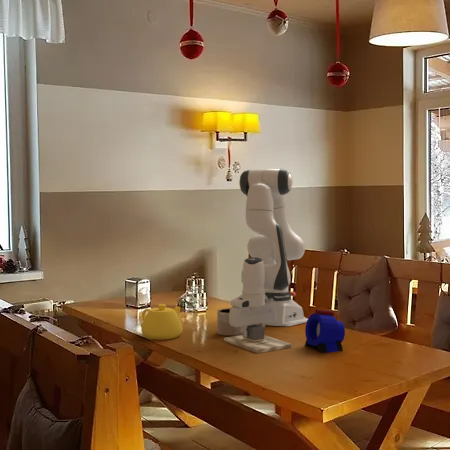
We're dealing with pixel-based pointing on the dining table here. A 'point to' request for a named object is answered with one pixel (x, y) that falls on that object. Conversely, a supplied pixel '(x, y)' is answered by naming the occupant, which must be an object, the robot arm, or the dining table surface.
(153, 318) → the teapot
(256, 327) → the block
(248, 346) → the board
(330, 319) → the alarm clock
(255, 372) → the dining table surface
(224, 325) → the planter
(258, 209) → the robot arm
